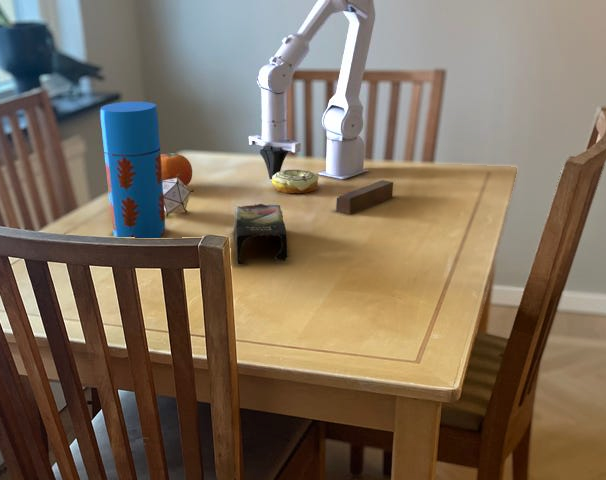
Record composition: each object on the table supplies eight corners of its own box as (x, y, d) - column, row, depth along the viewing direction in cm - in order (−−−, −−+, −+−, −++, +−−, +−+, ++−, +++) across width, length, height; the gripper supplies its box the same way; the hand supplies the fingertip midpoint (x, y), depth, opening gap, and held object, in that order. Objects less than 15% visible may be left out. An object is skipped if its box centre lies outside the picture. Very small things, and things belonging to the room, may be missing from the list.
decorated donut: (309, 197, 181) (309, 180, 179) (265, 193, 185) (265, 176, 183) (323, 185, 189) (324, 169, 187) (281, 181, 193) (281, 165, 191)
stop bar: (379, 194, 181) (379, 179, 179) (392, 197, 178) (393, 182, 177) (336, 211, 171) (336, 195, 169) (349, 214, 169) (350, 198, 167)
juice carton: (232, 229, 162) (232, 200, 159) (280, 228, 162) (281, 199, 159) (235, 266, 145) (234, 234, 141) (288, 265, 145) (289, 232, 142)
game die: (166, 231, 175) (135, 197, 170) (183, 208, 179) (154, 173, 175) (191, 218, 168) (160, 182, 164) (209, 194, 172) (178, 158, 168)
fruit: (176, 197, 184) (174, 162, 180) (140, 192, 189) (137, 158, 185) (201, 185, 192) (199, 152, 188) (166, 181, 197) (164, 148, 193)
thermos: (157, 244, 156) (147, 112, 144) (106, 242, 158) (91, 112, 146) (171, 227, 165) (163, 101, 153) (122, 225, 167) (110, 101, 155)
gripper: (239, 119, 186) (240, 177, 192) (286, 126, 177) (286, 187, 183) (259, 114, 190) (260, 171, 197) (306, 121, 181) (305, 180, 188)
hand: (274, 178), depth 190 cm, fingers closed
